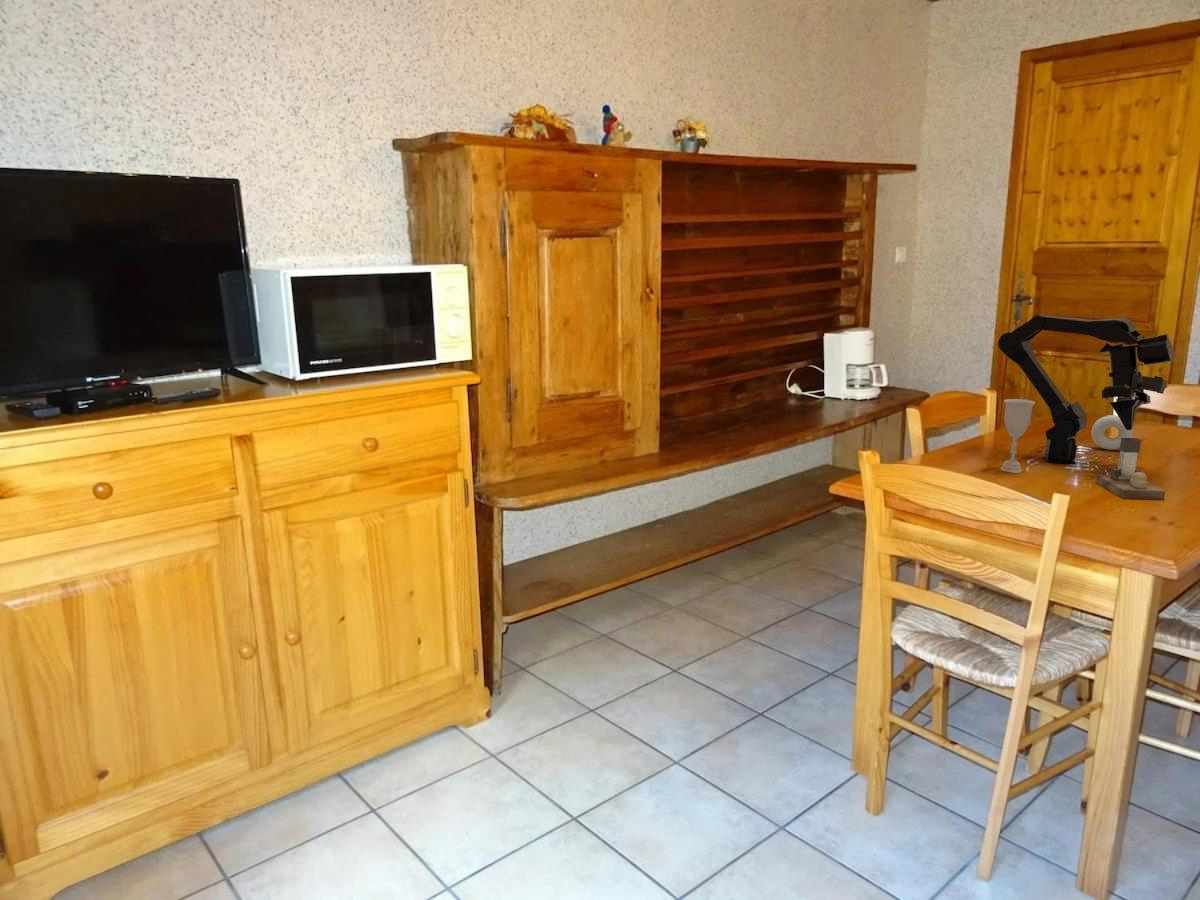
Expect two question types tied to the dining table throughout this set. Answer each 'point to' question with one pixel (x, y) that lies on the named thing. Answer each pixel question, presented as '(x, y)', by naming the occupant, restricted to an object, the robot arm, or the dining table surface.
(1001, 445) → the dining table surface
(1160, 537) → the dining table surface
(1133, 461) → the grey blocky upright piece
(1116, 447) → the donut
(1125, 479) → the grey base plate stand
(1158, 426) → the dining table surface
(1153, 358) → the robot arm
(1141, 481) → the beige egg
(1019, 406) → the chalice
